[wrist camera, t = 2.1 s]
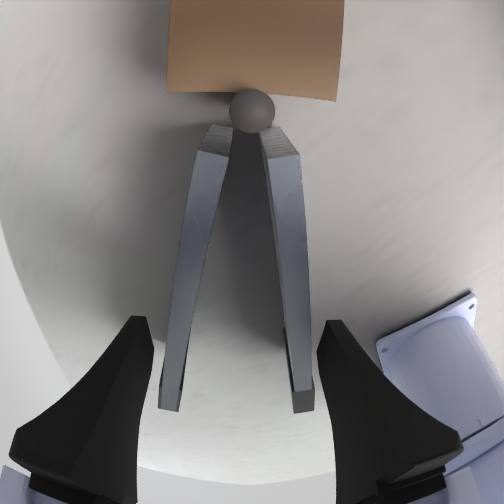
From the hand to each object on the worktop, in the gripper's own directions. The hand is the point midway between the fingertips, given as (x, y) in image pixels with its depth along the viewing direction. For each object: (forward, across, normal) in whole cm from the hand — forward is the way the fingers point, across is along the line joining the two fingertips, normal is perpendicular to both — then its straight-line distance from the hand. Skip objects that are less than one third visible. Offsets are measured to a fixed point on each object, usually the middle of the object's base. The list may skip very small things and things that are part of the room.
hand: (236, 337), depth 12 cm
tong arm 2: (+3, -2, -1) cm, 4 cm away
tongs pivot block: (+4, 0, -11) cm, 11 cm away
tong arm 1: (+3, +2, -1) cm, 4 cm away
